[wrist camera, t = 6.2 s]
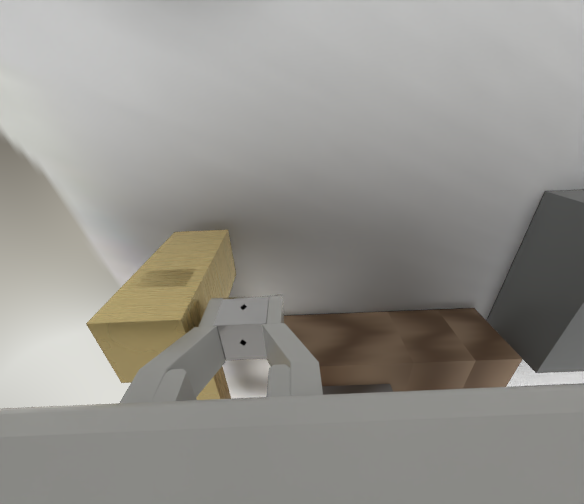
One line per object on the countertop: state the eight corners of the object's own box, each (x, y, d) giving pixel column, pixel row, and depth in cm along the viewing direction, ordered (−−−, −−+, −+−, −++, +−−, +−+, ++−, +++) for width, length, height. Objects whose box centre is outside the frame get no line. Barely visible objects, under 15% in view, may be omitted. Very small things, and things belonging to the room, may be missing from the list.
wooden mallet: (380, 223, 14) (452, 308, 8) (354, 413, 23) (377, 522, 17) (174, 232, 14) (86, 323, 8) (229, 417, 23) (208, 527, 17)
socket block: (474, 308, 20) (542, 379, 15) (438, 396, 26) (477, 470, 21) (277, 315, 20) (273, 388, 15) (285, 401, 26) (284, 476, 21)
